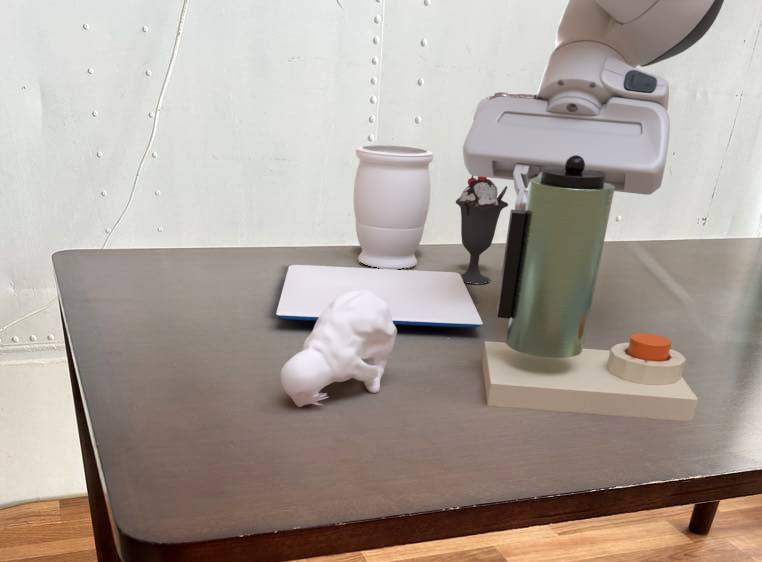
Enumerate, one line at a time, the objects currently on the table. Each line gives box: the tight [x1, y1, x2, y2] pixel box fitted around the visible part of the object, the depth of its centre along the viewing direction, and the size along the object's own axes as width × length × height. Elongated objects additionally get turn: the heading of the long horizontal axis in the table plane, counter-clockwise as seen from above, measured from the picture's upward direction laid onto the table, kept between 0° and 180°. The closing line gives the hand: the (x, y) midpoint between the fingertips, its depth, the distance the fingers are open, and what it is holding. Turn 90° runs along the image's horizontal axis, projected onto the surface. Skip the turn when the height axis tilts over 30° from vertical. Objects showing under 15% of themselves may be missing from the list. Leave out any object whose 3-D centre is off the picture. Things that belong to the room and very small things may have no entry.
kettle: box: [496, 155, 615, 358], centre depth 73 cm, size 8×10×16 cm
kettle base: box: [481, 340, 699, 423], centre depth 76 cm, size 18×12×4 cm, turn 85°
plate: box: [275, 264, 484, 328], centre depth 98 cm, size 22×22×2 cm
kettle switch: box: [627, 332, 673, 362], centre depth 75 cm, size 4×4×2 cm
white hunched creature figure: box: [280, 290, 398, 408], centre depth 72 cm, size 6×8×12 cm
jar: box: [353, 144, 435, 270], centre depth 114 cm, size 11×10×15 cm
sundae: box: [455, 175, 509, 283], centre depth 108 cm, size 7×7×15 cm
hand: (545, 214), depth 81 cm, fingers closed on chess piece, 3 cm apart
